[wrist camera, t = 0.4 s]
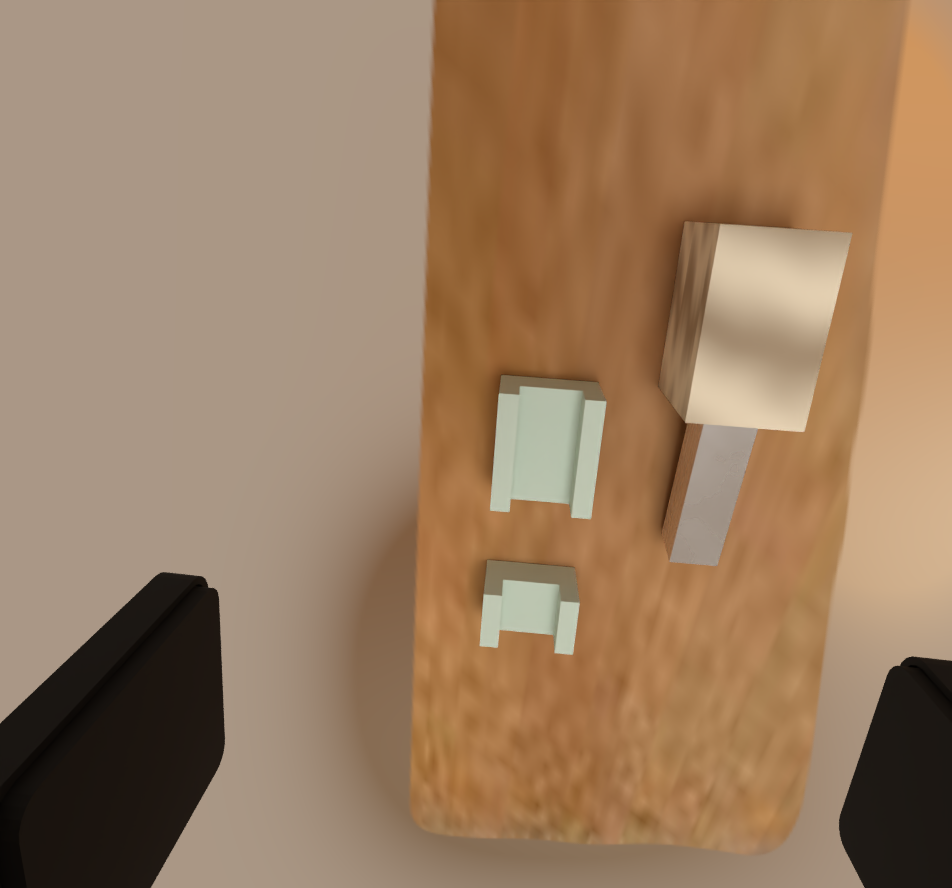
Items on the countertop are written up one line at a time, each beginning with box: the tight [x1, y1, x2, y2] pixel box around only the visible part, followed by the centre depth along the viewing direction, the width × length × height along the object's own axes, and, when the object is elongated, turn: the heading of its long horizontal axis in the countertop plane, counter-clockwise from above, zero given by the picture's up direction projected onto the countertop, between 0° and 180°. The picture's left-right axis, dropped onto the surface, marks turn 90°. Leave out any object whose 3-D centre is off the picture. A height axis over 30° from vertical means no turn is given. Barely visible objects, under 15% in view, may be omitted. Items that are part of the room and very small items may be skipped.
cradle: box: [480, 375, 606, 655], centre depth 43 cm, size 18×6×4 cm, turn 176°
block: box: [658, 221, 852, 432], centre depth 37 cm, size 10×6×8 cm, turn 176°
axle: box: [662, 423, 758, 566], centre depth 39 cm, size 16×3×3 cm, turn 177°
